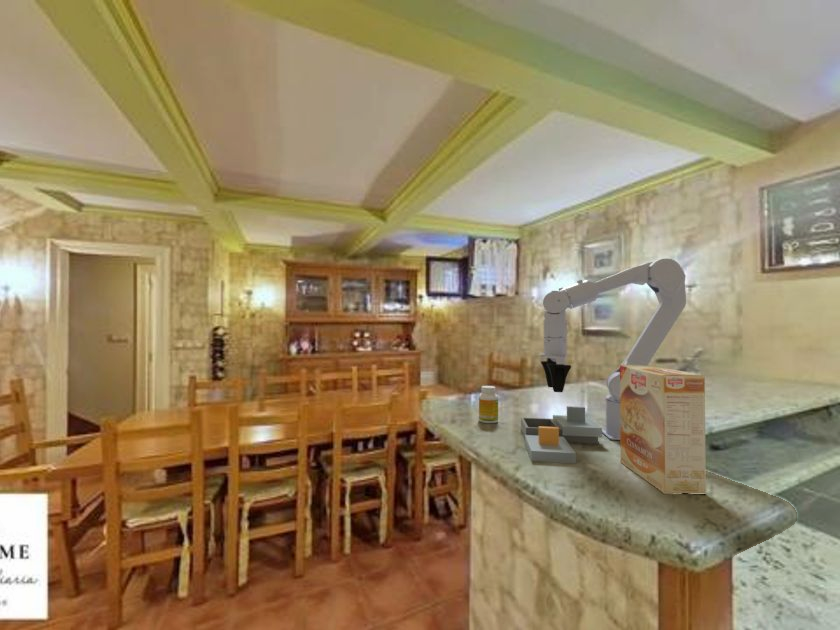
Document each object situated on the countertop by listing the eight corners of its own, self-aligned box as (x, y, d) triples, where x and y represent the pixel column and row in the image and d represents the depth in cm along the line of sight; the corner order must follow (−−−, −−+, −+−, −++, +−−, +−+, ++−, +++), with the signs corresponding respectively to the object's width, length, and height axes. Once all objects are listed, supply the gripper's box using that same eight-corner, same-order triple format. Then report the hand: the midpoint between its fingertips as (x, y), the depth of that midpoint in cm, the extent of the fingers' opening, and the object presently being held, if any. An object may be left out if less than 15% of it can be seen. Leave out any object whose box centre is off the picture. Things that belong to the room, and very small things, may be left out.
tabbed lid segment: (563, 445, 88) (563, 421, 88) (576, 463, 77) (575, 436, 77) (524, 443, 89) (524, 420, 89) (531, 460, 78) (531, 433, 78)
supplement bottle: (498, 424, 107) (498, 388, 107) (478, 423, 108) (478, 387, 108) (498, 419, 112) (498, 385, 112) (479, 418, 113) (479, 384, 113)
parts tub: (585, 432, 99) (585, 420, 99) (597, 444, 89) (597, 430, 89) (520, 429, 101) (520, 417, 101) (525, 441, 91) (526, 427, 91)
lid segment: (562, 435, 89) (562, 411, 89) (552, 422, 100) (552, 401, 100) (602, 437, 88) (602, 413, 88) (587, 424, 99) (587, 403, 99)
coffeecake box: (618, 462, 78) (618, 364, 78) (654, 462, 77) (654, 364, 78) (663, 494, 63) (662, 373, 63) (708, 495, 62) (707, 374, 63)
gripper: (535, 336, 110) (535, 384, 109) (544, 338, 95) (544, 393, 95) (561, 336, 109) (561, 385, 108) (574, 338, 94) (574, 394, 94)
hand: (555, 389), depth 102 cm, fingers open, 7 cm apart
